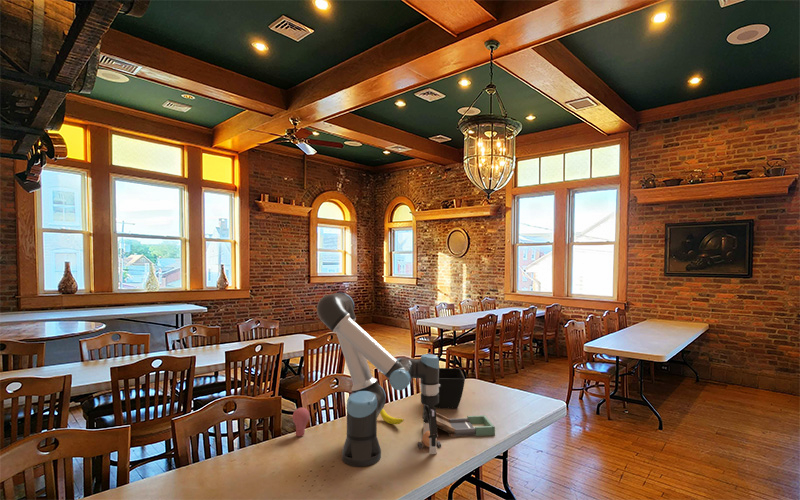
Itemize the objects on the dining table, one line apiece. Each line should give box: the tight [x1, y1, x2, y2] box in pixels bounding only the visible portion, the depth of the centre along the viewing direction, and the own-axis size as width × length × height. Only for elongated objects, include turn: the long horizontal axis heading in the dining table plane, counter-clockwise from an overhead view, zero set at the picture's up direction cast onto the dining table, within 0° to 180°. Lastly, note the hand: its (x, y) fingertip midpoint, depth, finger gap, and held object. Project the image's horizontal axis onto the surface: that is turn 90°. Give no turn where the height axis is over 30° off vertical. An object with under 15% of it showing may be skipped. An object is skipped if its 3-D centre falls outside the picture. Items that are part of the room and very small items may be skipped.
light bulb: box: [292, 407, 310, 437], centre depth 168 cm, size 7×7×12 cm
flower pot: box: [434, 367, 466, 409], centre depth 207 cm, size 19×19×17 cm
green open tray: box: [466, 414, 496, 437], centre depth 176 cm, size 9×13×4 cm, turn 6°
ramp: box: [428, 412, 456, 437], centre depth 174 cm, size 12×12×8 cm
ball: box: [422, 431, 430, 448], centre depth 159 cm, size 6×6×6 cm
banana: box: [379, 408, 405, 425], centre depth 182 cm, size 3×19×6 cm, turn 39°
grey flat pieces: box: [417, 440, 442, 449], centre depth 159 cm, size 9×3×1 cm, turn 96°
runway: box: [449, 417, 476, 437], centre depth 175 cm, size 10×12×3 cm
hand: (429, 445), depth 159 cm, fingers open, 12 cm apart
